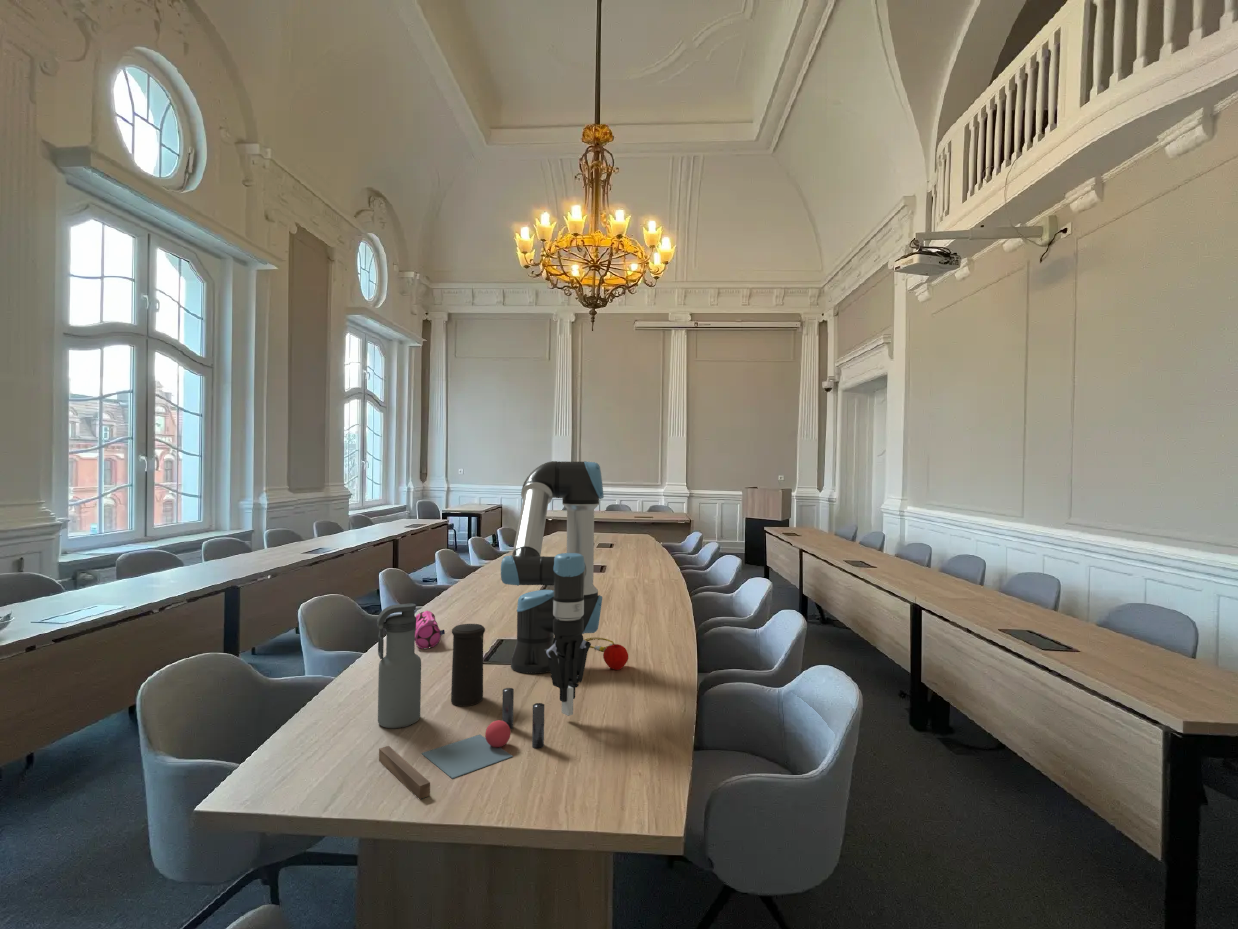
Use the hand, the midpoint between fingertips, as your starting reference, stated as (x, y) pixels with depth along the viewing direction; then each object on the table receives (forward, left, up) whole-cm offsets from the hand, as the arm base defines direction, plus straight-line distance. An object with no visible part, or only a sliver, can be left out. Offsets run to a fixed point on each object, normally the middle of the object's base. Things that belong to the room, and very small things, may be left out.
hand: (567, 713), depth 146 cm
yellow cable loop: (-48, -45, -3) cm, 66 cm away
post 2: (+13, +6, -2) cm, 15 cm away
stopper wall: (+41, 0, -2) cm, 41 cm away
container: (+12, -28, -2) cm, 31 cm away
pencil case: (-4, -88, -2) cm, 88 cm away
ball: (+20, 0, +1) cm, 20 cm away
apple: (-36, -22, -2) cm, 42 cm away
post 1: (+13, -6, -2) cm, 15 cm away
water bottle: (+31, -27, -2) cm, 41 cm away
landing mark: (+27, 0, -2) cm, 27 cm away
